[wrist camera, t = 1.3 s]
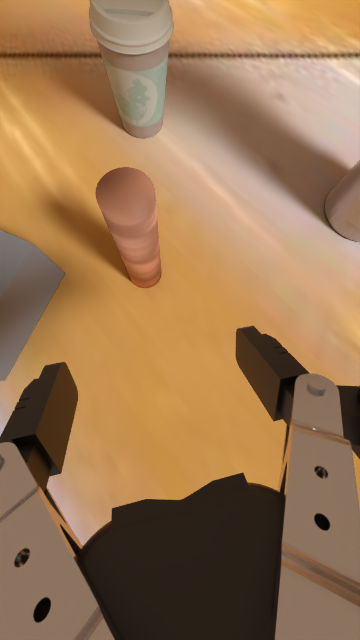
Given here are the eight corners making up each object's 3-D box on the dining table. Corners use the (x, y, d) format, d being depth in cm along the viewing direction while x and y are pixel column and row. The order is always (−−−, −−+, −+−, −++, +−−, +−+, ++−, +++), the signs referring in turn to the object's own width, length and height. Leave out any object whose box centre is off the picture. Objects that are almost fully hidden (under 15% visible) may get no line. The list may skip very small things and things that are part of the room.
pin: (137, 253, 30) (111, 159, 17) (166, 265, 30) (164, 180, 16) (123, 280, 29) (85, 205, 16) (153, 292, 29) (140, 227, 16)
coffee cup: (100, 127, 34) (64, -2, 22) (135, 89, 35) (119, -49, 24) (150, 156, 33) (139, 41, 21) (183, 117, 35) (190, -11, 23)
